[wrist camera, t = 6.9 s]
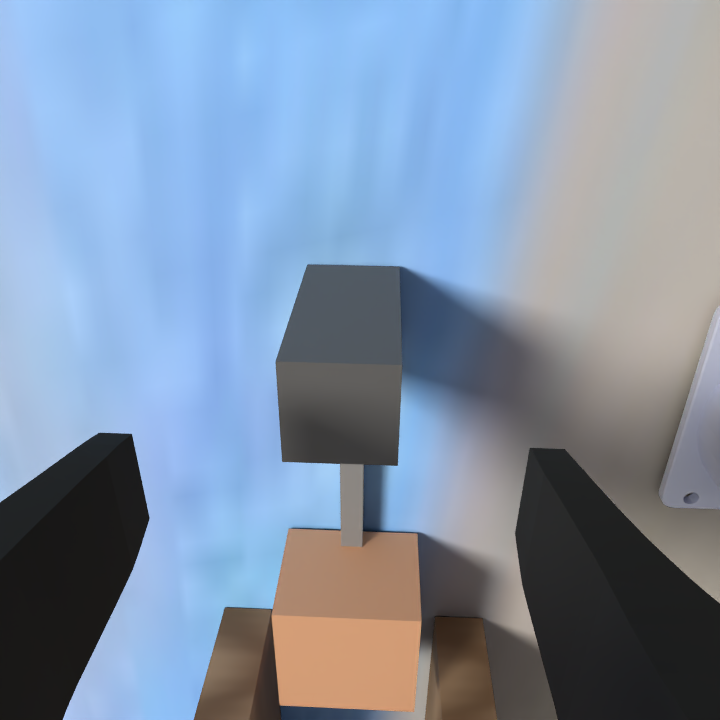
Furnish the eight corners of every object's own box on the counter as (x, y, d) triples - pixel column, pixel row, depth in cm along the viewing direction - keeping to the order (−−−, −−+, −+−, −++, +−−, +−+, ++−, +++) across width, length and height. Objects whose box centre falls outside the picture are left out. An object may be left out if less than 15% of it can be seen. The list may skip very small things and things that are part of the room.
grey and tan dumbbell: (436, 267, 19) (452, 366, 14) (411, 620, 27) (415, 768, 22) (271, 263, 19) (226, 360, 14) (294, 615, 27) (270, 761, 22)
